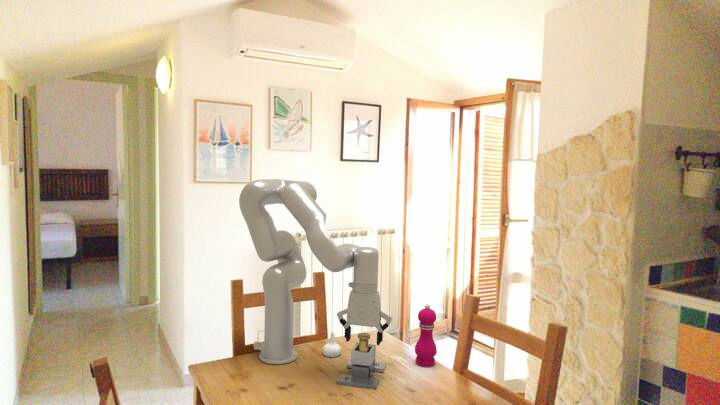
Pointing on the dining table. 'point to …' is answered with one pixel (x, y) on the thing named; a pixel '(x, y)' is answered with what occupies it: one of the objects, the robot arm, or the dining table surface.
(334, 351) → the garlic bulb
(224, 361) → the dining table surface
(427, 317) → the pepper mill
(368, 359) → the square tube bracket
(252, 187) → the robot arm
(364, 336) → the hinge pin
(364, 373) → the fixed leaf
